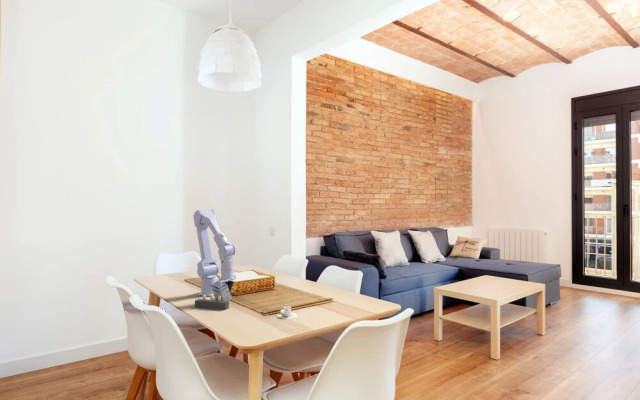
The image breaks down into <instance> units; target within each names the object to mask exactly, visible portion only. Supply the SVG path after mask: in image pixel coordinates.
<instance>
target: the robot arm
mask: <svg viewBox="0 0 640 400" xmlns="http://www.w3.org/2000/svg"><path fill="white" fill-rule="evenodd" d="M193 221H194V223H193V224H194V226H195V228H196V235H197V239H198V240H197V241H198V247H199V251H200V252H199V253H200V257H201V259H200V261H199V262H198V263H197V269H196V274H197V275H198V277H199V278H200V292H199V293H198V294H197V296H202V297H203V295H205V296H206V297H210V296H211V295H213V296H214V293H213V291H212V288H211V285H212V284H213V283H215V282H218V285H222V283H226V284H227V286H228V289H229V292H230V293H231V291H232V288H233V286H234V284H235V281H236V280H237V275H236V274H234V264H233V263H234V262H233V261H234V256H235V254H236V248H235V246H234V244H232V243H231V242H229V240H228V238H227V236H226V234H225V233H224V232H221V229H220V227H219V224H218V223H217V214H216V212H215V210H214V209H201V210H199V209H197V210H195V212H194V213H193ZM208 227H209V230H211V232H212V235H214V236H213V240H214V242H215V244H216V247H217V248H218V250H217V252H218V255H219V261H220V267H219V265H218V262H217V260H216V259H215V258H214V257H212V250H211V245H210V244H211V243H210V240H209V234H208ZM219 272H220V279H219V278H218V274H219ZM234 280H235V281H234Z"/></svg>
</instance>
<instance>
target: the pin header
mask: <svg viewBox="0 0 640 400" xmlns="http://www.w3.org/2000/svg"><path fill="white" fill-rule="evenodd" d="M206 297H207V296H205V295H203V296H202V298H197V299H195V300H194V307H195V308H199V309H200V308H202V309H210V310H211V309H212V310H225V311H226V310H228V309H230V300H229V301H221V296H218V300H216V299H214V295H211V296H209V297H210V298H209V299H206Z"/></svg>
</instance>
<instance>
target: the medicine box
mask: <svg viewBox="0 0 640 400" xmlns="http://www.w3.org/2000/svg"><path fill="white" fill-rule="evenodd" d="M211 288H212V291H213V293H214V295H213V297H214V300H218V296H221V301H229V302H230V301H231V300H232V299H233V298H232V294H231V292H229V289H228V286H227V284H226V283H222V285H218V282H215V283H213V284H212V285H211Z"/></svg>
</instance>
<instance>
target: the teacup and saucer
mask: <svg viewBox="0 0 640 400" xmlns="http://www.w3.org/2000/svg"><path fill="white" fill-rule="evenodd" d="M282 315H284V317H283V316H282ZM291 315H293V316H291ZM297 316H298V315H297V314H296V313H295V312H292V306H289V305H285V306H284V307H283V309H280V313H279V314H278V315H277V317H278V318H279V319H285V320H287V319H294V318H296V317H297Z"/></svg>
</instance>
